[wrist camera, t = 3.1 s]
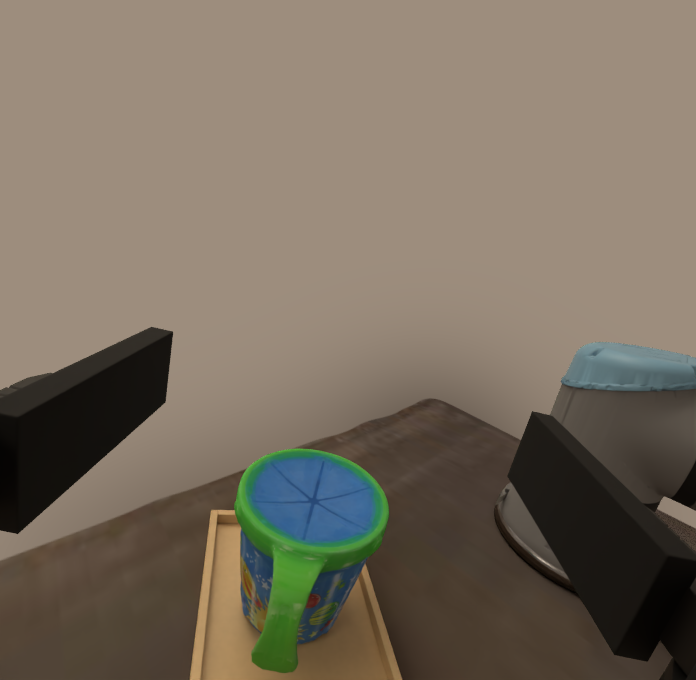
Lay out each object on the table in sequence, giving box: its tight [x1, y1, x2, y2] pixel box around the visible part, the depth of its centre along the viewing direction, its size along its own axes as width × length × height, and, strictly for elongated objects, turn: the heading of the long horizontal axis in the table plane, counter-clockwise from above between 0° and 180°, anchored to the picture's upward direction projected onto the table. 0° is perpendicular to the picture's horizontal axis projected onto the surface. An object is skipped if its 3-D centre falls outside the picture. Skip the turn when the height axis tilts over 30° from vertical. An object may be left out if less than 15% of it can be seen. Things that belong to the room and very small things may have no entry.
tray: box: [190, 510, 402, 680], centre depth 31 cm, size 13×17×1 cm
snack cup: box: [234, 449, 389, 673], centre depth 29 cm, size 16×10×10 cm
